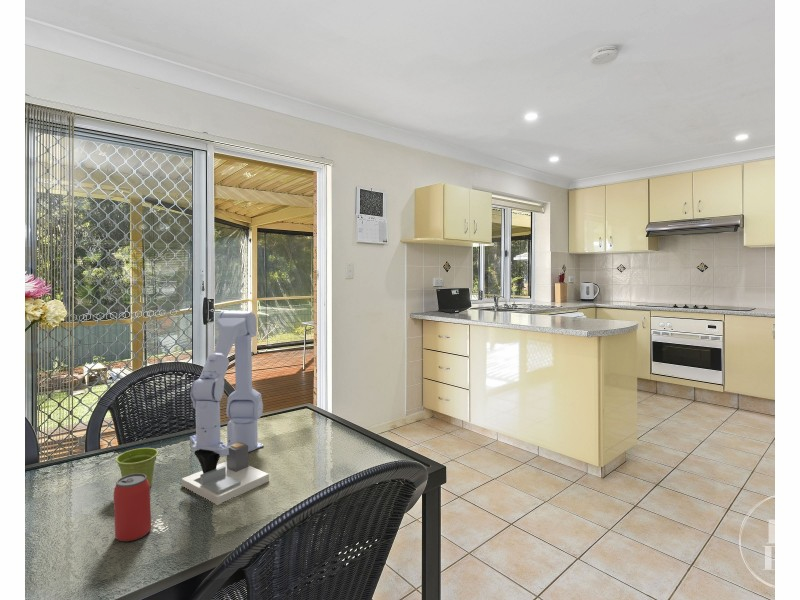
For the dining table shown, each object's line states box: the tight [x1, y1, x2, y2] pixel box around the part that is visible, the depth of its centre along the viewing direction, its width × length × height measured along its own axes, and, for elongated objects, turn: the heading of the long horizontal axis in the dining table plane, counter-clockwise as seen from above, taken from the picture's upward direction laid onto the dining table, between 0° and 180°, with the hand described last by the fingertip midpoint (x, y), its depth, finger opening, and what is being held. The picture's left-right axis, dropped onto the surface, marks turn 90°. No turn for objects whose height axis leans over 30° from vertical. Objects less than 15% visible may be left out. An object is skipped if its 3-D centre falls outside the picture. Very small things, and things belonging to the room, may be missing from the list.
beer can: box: [113, 473, 152, 543], centre depth 95 cm, size 7×7×12 cm
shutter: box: [200, 466, 241, 494], centre depth 112 cm, size 7×6×3 cm
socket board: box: [181, 460, 270, 506], centre depth 117 cm, size 16×15×2 cm
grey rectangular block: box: [226, 442, 250, 472], centre depth 122 cm, size 4×4×6 cm
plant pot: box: [115, 447, 159, 488], centre depth 114 cm, size 9×9×9 cm
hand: (209, 476), depth 115 cm, fingers closed
